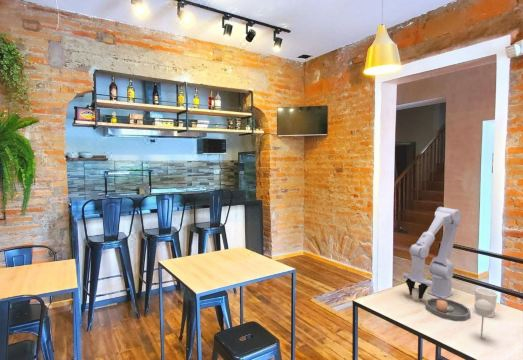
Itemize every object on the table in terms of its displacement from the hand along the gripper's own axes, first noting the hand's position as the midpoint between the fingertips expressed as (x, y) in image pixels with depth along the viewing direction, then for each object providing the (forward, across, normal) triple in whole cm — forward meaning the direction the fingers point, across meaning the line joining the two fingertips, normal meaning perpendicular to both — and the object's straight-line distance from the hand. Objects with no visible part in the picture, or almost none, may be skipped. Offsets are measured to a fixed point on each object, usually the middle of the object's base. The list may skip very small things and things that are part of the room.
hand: (416, 296), depth 153 cm
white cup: (+2, +24, +13) cm, 27 cm away
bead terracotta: (+1, +14, -4) cm, 15 cm away
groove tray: (+1, +14, +1) cm, 14 cm away
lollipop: (+2, +32, -10) cm, 34 cm away
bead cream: (+1, 0, 0) cm, 1 cm away
